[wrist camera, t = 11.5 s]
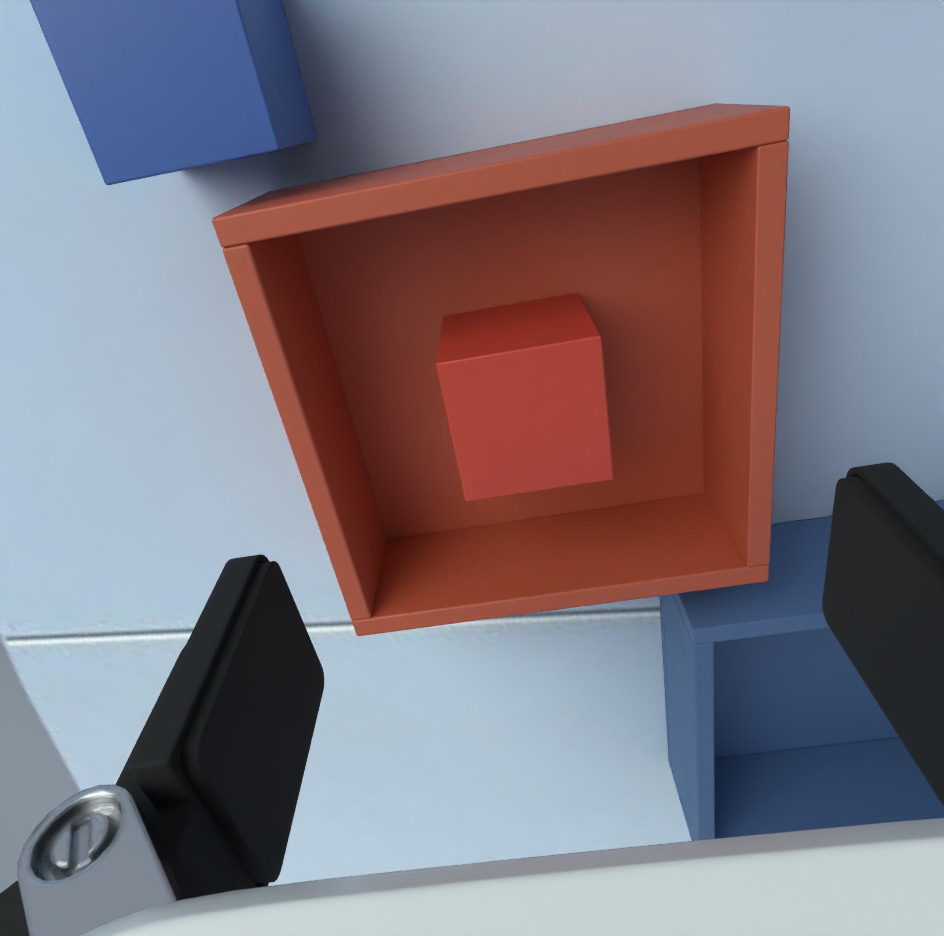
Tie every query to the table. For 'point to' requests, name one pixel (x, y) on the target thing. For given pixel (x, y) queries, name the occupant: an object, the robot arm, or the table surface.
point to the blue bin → (778, 708)
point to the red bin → (514, 281)
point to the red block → (525, 397)
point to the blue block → (177, 81)
